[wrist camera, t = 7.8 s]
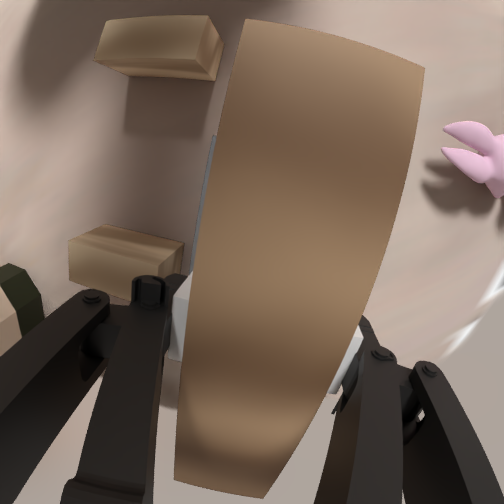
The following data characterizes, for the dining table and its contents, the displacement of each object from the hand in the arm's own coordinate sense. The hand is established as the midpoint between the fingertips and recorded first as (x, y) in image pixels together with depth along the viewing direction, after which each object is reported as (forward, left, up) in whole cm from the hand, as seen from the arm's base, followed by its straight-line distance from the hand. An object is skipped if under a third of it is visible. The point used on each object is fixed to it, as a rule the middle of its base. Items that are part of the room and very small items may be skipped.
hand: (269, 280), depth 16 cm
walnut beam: (0, 0, +3) cm, 3 cm away
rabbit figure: (-11, +17, -6) cm, 21 cm away
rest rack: (-5, -10, -6) cm, 13 cm away
